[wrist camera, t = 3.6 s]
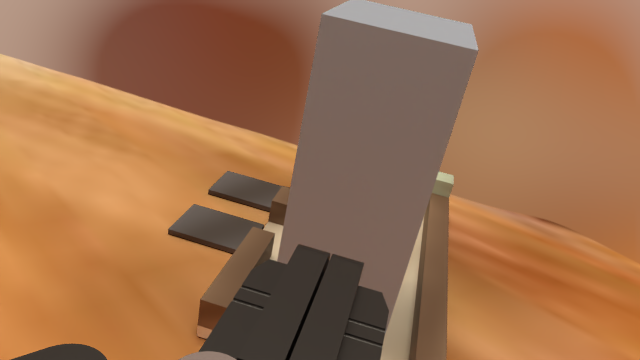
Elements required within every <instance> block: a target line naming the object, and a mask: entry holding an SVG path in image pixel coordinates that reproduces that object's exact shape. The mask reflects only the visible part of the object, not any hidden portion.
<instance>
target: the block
mask: <svg viewBox="0 0 640 360" xmlns="http://www.w3.org/2000/svg"><path fill="white" fill-rule="evenodd" d="M477 53H478V47H477V43H476V39H475V35H474V31H473V28H472V25H471V24H467V23H462V22H458V21H453V20H449V19H445V18H440V17H436V16H432V15H427V14H423V13H418V12H414V11H409V10H405V9H401V8H397V7H392V6H388V5H383V4H379V3H375V2H370V1H366V0H349V1H347V2H345V3H343V4H341V5H339V6H337V7H335V8H333V9H331V10H329V11H327V12H324V13H322V15H321V22H320V26H319V32H318V37H317V43H316V49H315V55H314V60H313V65H312V71H311V76H310V82H309V87H308V93H307V98H306V104H305V109H304V115H303V121H302V126H301V132H300V137H299V143H298V148H297V154H296V159H295V165H294V170H293V176H292V181H291V187H290V193H289V198H288V204H287V209H286V215H285V220H284V226H283V231H282V237H281V242H280V248H279V253H278V259H277V261H278V262H281V263H284V264H288V262H289V260H290V258H291V256H292V254H293V252H294V251H295V249H296V247H297V245H298V244H301V245H304V246H308V247H311V248H315V249H318V250H322V251H325V252H328V253H330V258H331V256H332V254H336V255H339V256H343V257H346V258H350V259H353V260H356V261H360V262H363V263H364V267H363V271H362V274H361V278H360V282H359V286H362V287H365V288H369V289H372V290H375V291H379V292H382V293H383V296H384V299H385V302H386V304H387V307H388V310H389V314H388V319H387V325H386V330H387V327H388V324H389V321H390V318H391V315H392V312H393V309H394V306H395V303H396V300H397V297H398V294H399V291H400V288H401V285H402V282H403V279H404V276H405V273H406V270H407V267H408V263H409V260H410V257H411V254H412V251H413V248H414V245H415V242H416V239H417V236H418V233H419V230H420V227H421V224H422V221H423V218H424V215H425V212H426V209H427V206H428V203H429V200H430V197H431V193H432V190H433V187H434V184H435V181H436V178H437V175H438V172H439V169H440V166H441V163H442V160H443V157H444V154H445V151H446V148H447V144H448V142H449V139H450V136H451V133H452V129H453V126H454V123H455V120H456V117H457V114H458V111H459V108H460V105H461V102H462V99H463V96H464V93H465V90H466V87H467V84H468V81H469V77H470V75H471V71H472V68H473V66H474V63H475V60H476V56H477ZM329 261H330V260H329ZM386 330H385V333H386ZM384 337H385V336H384Z"/></svg>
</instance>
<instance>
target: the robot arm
mask: <svg viewBox="0 0 640 360" xmlns="http://www.w3.org/2000/svg"><path fill="white" fill-rule="evenodd" d="M329 260H330V261H329ZM363 267H364V263H363V262H360V261H356V260H353V259H350V258H346V257H343V256H339V255H336V254H332V256H331V258H330V253H328V252H325V251H322V250H318V249H315V248H311V247H308V246H304V245H301V244H298V245H297V247H296V249H295V251H294V252H293V254H292V256H291V258H290V260H289V262H288V264H284V263H281V262H278V261H274V260H271V259H268V260H267V261H265V262H263V263H262V264H260V265H258V266H257V267H255V268H253V269H252V270H251V271H250V273H249V274H248V276H247V278H246V279H245V281H244V282H243V284H242V286H241V288H239V290H238V291H237V293H236V295H235V296H234V298H233V301H231V302H230V304H229V305H228V307H227V309H226V310H225V312H224V313H223V315H222V316H221V318H220V319H219V321H218V323H217V324H216V326H215V327H214V329H213V330H212V332H211V333H210V335H209V337H208V338H207V340H206V341H205V343H204V344H203V346H202V347H201V349H200V350H199V352H197V353H192V354H190V355H187V356H185V357H183V358H181V359H179V360H380V359H381V353H382V346H383V342H384V336H385V330H386V325H387V319H388V314H389V310H388V307H387V304H386V302H385V299H384V296H383V293H382V292H379V291H375V290H372V289H369V288H365V287H362V286H359V282H360V278H361V274H362V271H363ZM11 360H107V359H106V357H105V356H104V355H103V354H102V353H101V352H100V351H98V350H96V349H95V348H92V347H90V346H86V345H82V344H62V345H56V346H52V347H49V348H45V349H42V350H39V351H36V352H33V353H30V354H27V355H24V356H21V357H17V358H14V359H11Z"/></svg>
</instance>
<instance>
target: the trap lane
mask: <svg viewBox="0 0 640 360" xmlns="http://www.w3.org/2000/svg"><path fill="white" fill-rule="evenodd" d="M453 177H454V176H453V175H449V174H446V173H442V172H438V175H437V178H436V181H435V184H434V187H433V190H432V193H431V197H430V200H429V203H428V206H427V209H426V212H425V215H424V218H423V221H422V224H421V227H420V230H419V233H418V236H417V239H416V242H415V245H414V248H413V251H412V254H411V257H410V260H409V263H408V267H407V270H406V273H405V276H404V279H403V282H402V285H401V288H400V291H399V294H398V297H397V300H396V303H395V306H394V309H393V312H392V315H391V318H390V321H389V324H388V327H387V330H386V333H385V337H384V342H383V346H382V353H381V359H380V360H446V353H447V289H448V224H449V196H450V193H451V190H452V187H453V184H454V182H453V181H454V179H453ZM289 193H290V188H289V187H285V186H279V185H276V184H272V183H269V182H265V181H262V180H258V179H255V178H251V177H248V176H244V175H241V174H237V173H234V172H230V171H227V172H226V173H225V174H224V175H223V176H222V177H221V178H220V179H219V180H218V181H217V182H216V183H215V184H214V185H213V186H212V187H211V188H210V189H209V192H208V194H211V195H214V196H218V197H221V198H225V199H228V200H231V201H235V202H238V203H242V204H245V205H248V206H252V207H255V208H259V209H262V210H266V211H269V212H270V215H269V221H268V223H267V224H266V226H265V227H264V225H263V224H260V223H257V222H253V221H250V220H246V219H243V218H240V217H236V216H233V215H230V214H226V213H223V212H220V211H216V210H213V209H209V208H206V207H203V206H199V205H196V204H194V205H193V206H191V207H190V208H189V209H188V210H187V211H186V212H185V213H184V214H183V215H182V216H181V217H180V218H179V219H178V220H177V221H176V222H175V223H174V224H173V225H172V226H171V227H170V228H169V229H168V234H171V235H174V236H177V237H181V238H184V239H187V240H190V241H194V242H197V243H200V244H203V245H207V246H210V247H213V248H216V249H220V250H223V251H226V252H229V253H233V255H232V256H231V258H230V259H229V261H228V262H227V263H226V265H225V266H224V267H223V269H222V270H221V272H220V273H219V274H218V276H217V277H216V278H215V280H214V281H213V283H212V284H211V285H210V287H209V288H208V290H207V291H206V292H205V294H204V295H203V296H202V298H201V299H200V309H199V319H198V329H197V336H199V337H202V338H205V339H207V338H208V337H209V335H210V333H211V332H212V330H213V329H214V327H215V326H216V324H217V323H218V321H219V319H220V318H221V316H222V315H223V313H224V312H225V310H226V309H227V307H228V305H229V304H230V302H231V301H233V298H234V296H235V295H236V293H237V291H238V290H239V288H241V286H242V284H243V282H244V281H245V279H246V278H247V276H248V274H249V273H250V271H251V270H252V269H253V268H255V267H257V266H258V265H260V264H262V263H263V262H265V261H267V260H268V259H271V260H274V261H277V259H278V253H279V248H280V242H281V237H282V231H283V226H284V220H285V215H286V209H287V204H288V198H289Z"/></svg>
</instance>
